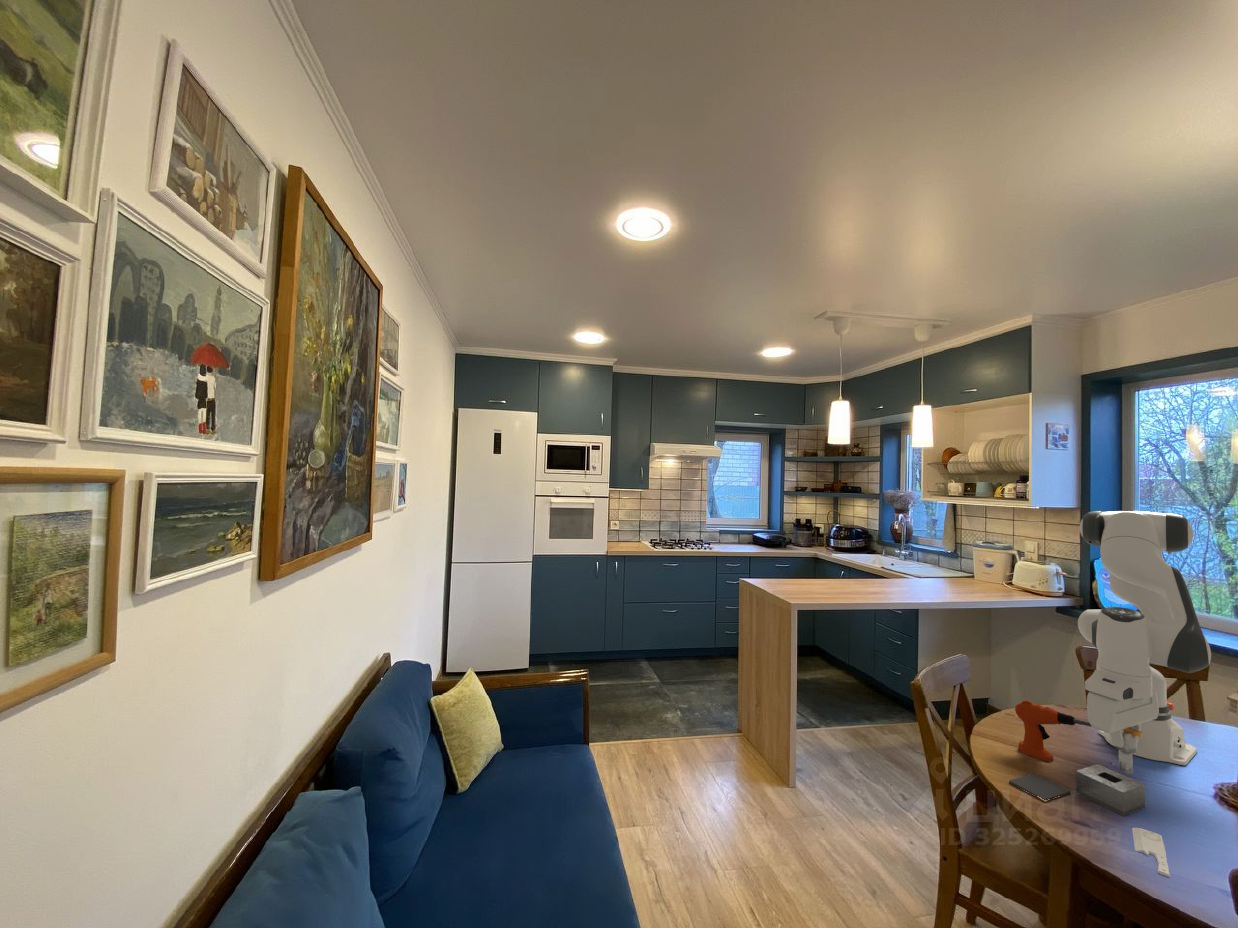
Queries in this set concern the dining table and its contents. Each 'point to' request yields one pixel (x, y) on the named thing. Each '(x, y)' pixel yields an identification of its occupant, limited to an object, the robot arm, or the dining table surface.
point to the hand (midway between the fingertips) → (1125, 743)
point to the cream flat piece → (1151, 847)
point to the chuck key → (1128, 749)
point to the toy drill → (1040, 727)
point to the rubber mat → (1039, 786)
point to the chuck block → (1110, 789)
